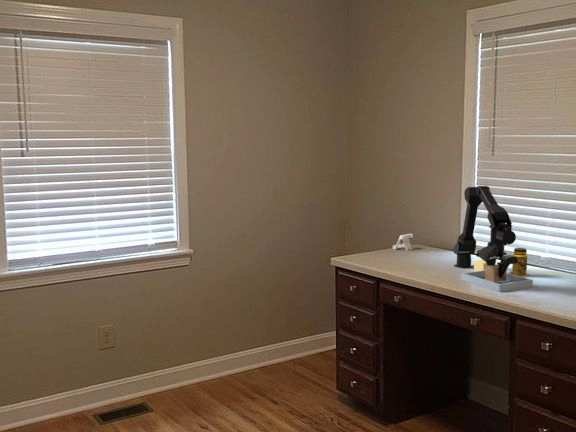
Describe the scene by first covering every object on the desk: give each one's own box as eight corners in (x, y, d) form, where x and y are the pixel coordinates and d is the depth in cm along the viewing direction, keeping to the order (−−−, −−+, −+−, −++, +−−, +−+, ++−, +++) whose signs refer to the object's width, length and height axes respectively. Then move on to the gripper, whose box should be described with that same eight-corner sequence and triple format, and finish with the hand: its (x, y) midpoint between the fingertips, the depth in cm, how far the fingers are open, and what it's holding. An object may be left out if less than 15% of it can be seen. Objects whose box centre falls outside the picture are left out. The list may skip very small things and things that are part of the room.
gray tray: (460, 279, 283) (461, 273, 283) (492, 275, 291) (493, 269, 290) (499, 291, 262) (499, 284, 262) (532, 287, 270) (532, 279, 270)
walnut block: (497, 278, 280) (498, 264, 279) (506, 280, 276) (506, 266, 275) (485, 279, 277) (485, 265, 276) (493, 282, 273) (494, 268, 272)
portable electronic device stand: (403, 247, 359) (403, 232, 358) (414, 249, 353) (414, 234, 352) (392, 249, 354) (392, 234, 353) (404, 251, 348) (404, 235, 347)
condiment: (525, 277, 287) (526, 250, 285) (505, 275, 291) (506, 249, 290) (528, 274, 293) (529, 247, 292) (509, 272, 297) (510, 246, 296)
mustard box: (473, 271, 299) (474, 260, 299) (482, 270, 302) (482, 259, 301) (483, 274, 294) (483, 263, 293) (491, 273, 296) (491, 262, 296)
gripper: (467, 238, 279) (466, 274, 281) (498, 245, 262) (497, 283, 264) (487, 236, 284) (486, 271, 286) (519, 243, 267) (517, 280, 269)
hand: (495, 276), depth 276 cm, fingers closed on walnut block, 5 cm apart
